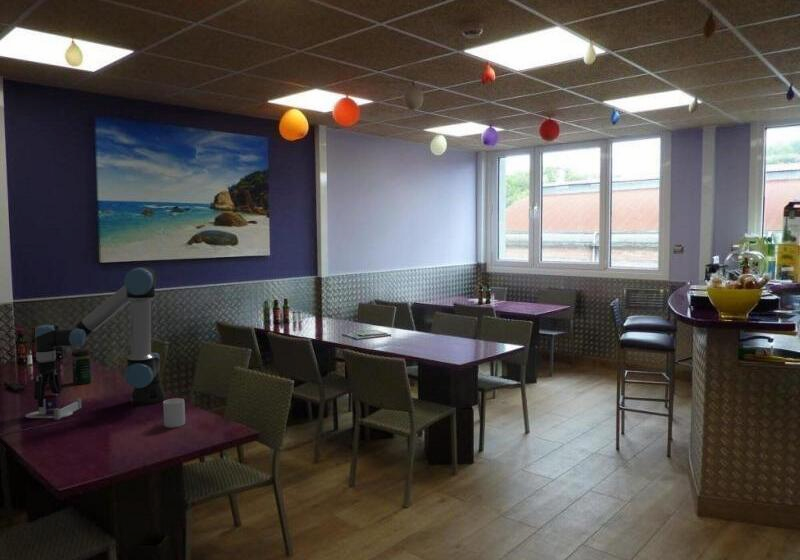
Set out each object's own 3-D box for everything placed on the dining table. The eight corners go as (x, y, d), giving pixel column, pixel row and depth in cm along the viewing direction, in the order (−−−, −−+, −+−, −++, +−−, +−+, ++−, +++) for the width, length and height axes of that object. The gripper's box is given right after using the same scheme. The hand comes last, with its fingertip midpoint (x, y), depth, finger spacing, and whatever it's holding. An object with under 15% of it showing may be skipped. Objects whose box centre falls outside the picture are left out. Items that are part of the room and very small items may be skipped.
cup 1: (41, 415, 259) (40, 399, 259) (40, 409, 268) (39, 394, 267) (59, 412, 263) (58, 397, 262) (57, 407, 271) (57, 392, 271)
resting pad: (77, 411, 269) (77, 411, 269) (65, 418, 260) (65, 417, 260) (34, 411, 270) (34, 410, 270) (20, 417, 261) (20, 417, 261)
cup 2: (167, 429, 244) (166, 404, 243) (159, 421, 253) (158, 398, 253) (187, 425, 249) (186, 401, 248) (179, 418, 258) (178, 395, 257)
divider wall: (81, 407, 275) (81, 398, 275) (58, 419, 258) (57, 409, 257) (78, 407, 275) (77, 398, 275) (54, 419, 258) (53, 409, 257)
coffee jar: (93, 383, 321) (91, 349, 319) (77, 385, 315) (75, 351, 314) (86, 380, 327) (85, 346, 326) (71, 382, 322) (69, 348, 320)
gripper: (52, 355, 273) (55, 404, 275) (22, 365, 253) (24, 418, 254) (68, 355, 273) (70, 404, 275) (39, 365, 252) (42, 418, 254)
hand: (48, 410), depth 264 cm, fingers closed on cup 1, 8 cm apart
